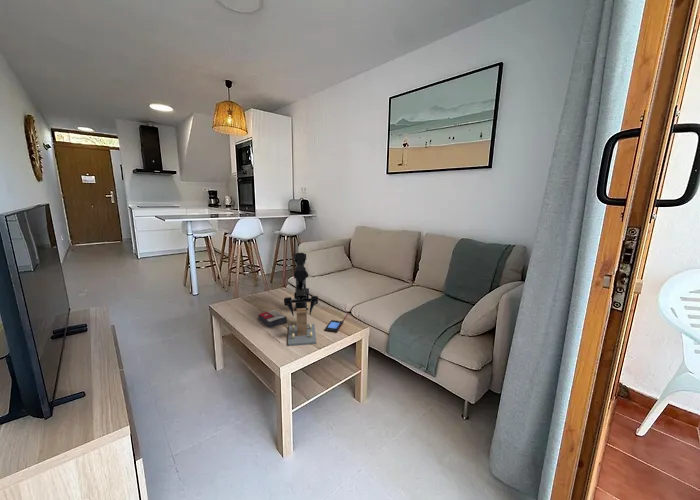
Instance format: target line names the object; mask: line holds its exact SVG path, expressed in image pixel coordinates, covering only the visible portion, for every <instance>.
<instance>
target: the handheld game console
mask: <svg viewBox="0 0 700 500" xmlns="http://www.w3.org/2000/svg"><path fill="white" fill-rule="evenodd" d="M349 313H350V312H347V314H346V315H345V316H344V318H343V320H335V319H332V320H330V321H329V323H328V324H327V325H326V327H325V328H324V331H325V332H328V333H329V332H330V333H335V334H337V333H338V332H339V330H340V328H341V327H342V326H343V325H344V321H345V320H346V318H347V317H348V316H349Z"/></svg>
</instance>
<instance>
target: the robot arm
mask: <svg viewBox="0 0 700 500" xmlns="http://www.w3.org/2000/svg"><path fill="white" fill-rule="evenodd" d="M293 261H294V264H295V266H296V267H295V268H294V271H293V279H295V288H294V289H295V292H294V295H293V296H294V297H293V299H292V296H288V297H287V296H286V297H284V298H283V303H284V304H283V305H284V306H286V307H287V308H289V310H290V313H291V315H292V317H294V310H295V311H297V309H300V308H306V311H307V310H309V316H311V315H312V312H313V309H314V306H317V305H318V304H319V296H318V295H312V296H310V288H309V287H308V288H307V278H308V277H309V273H308V271H307V269H306V267H305V264H306V261H307V253H304V252H295V253H294V254H293ZM308 303H310V306H309V307H310V308H309V307H308V305H307V304H308ZM293 304H295V307H294V309H293Z"/></svg>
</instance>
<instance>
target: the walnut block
mask: <svg viewBox="0 0 700 500" xmlns="http://www.w3.org/2000/svg"><path fill="white" fill-rule="evenodd" d="M307 317H308V315H307V310H306V308H300V309H297V310H296V325H297V336H303V335H307V322H308V320H307V319H308V318H307Z"/></svg>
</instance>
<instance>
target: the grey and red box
mask: <svg viewBox="0 0 700 500" xmlns="http://www.w3.org/2000/svg"><path fill="white" fill-rule="evenodd" d="M257 316H258V318H257V319H258V321H261V322H262V323H263V324H264V325H265V326H267V327H268V328H269V329H272V328H274V327H277V326H280V325H283V324H286V323H287V322H288V318H287V316H286V315H285V314H283V313H282V312H280V311H278V310H277V309H272V310H269V311H265V312H261V313H259V314H258V315H257Z"/></svg>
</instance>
